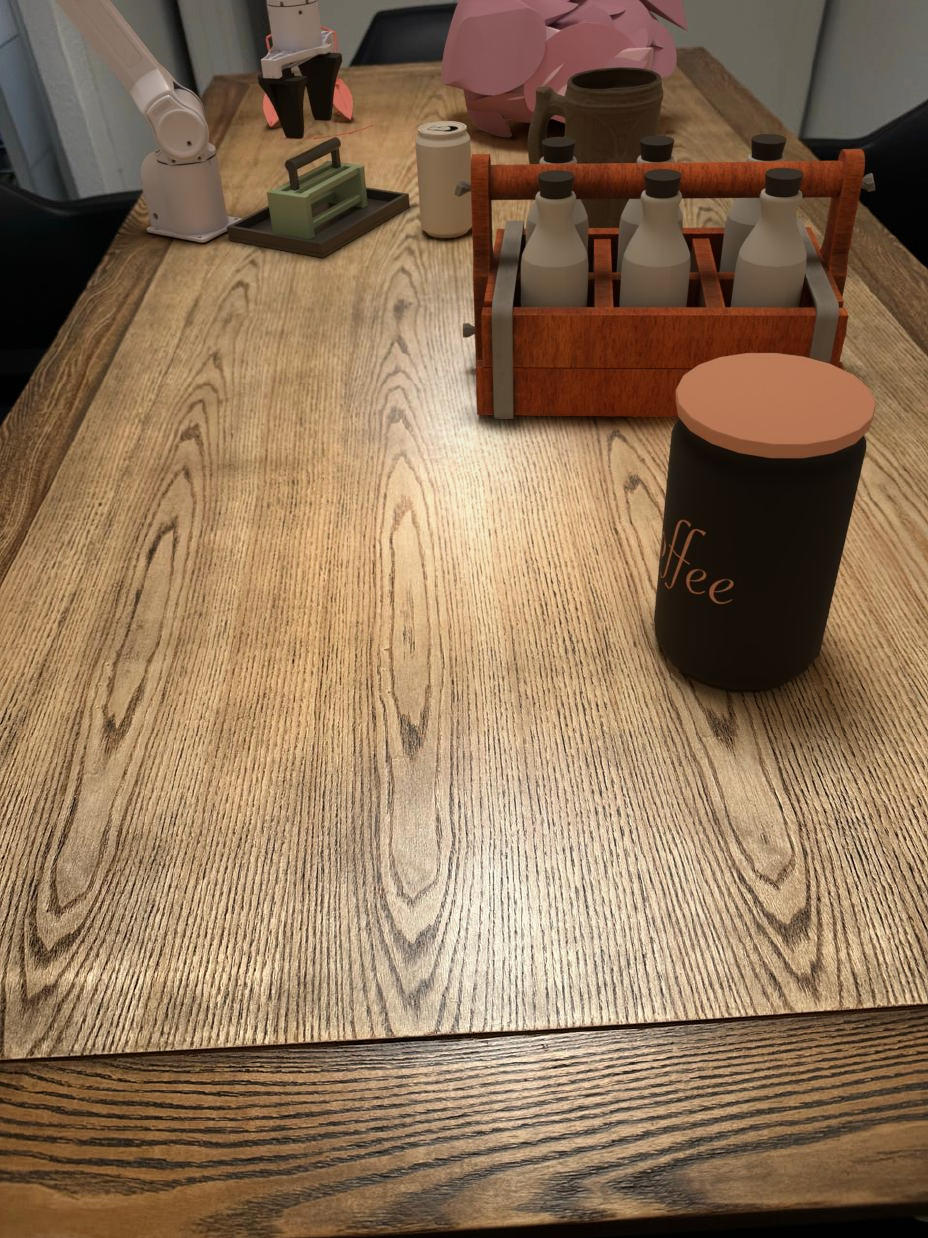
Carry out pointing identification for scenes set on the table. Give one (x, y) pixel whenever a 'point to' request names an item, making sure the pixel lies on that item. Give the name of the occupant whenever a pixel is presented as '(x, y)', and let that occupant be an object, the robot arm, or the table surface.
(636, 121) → the beer stein
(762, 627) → the coffee jar
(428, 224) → the beverage can
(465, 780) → the table surface
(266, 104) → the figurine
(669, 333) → the milk bottle holder
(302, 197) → the green tool caddy
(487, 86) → the flower arrangement
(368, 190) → the tray
